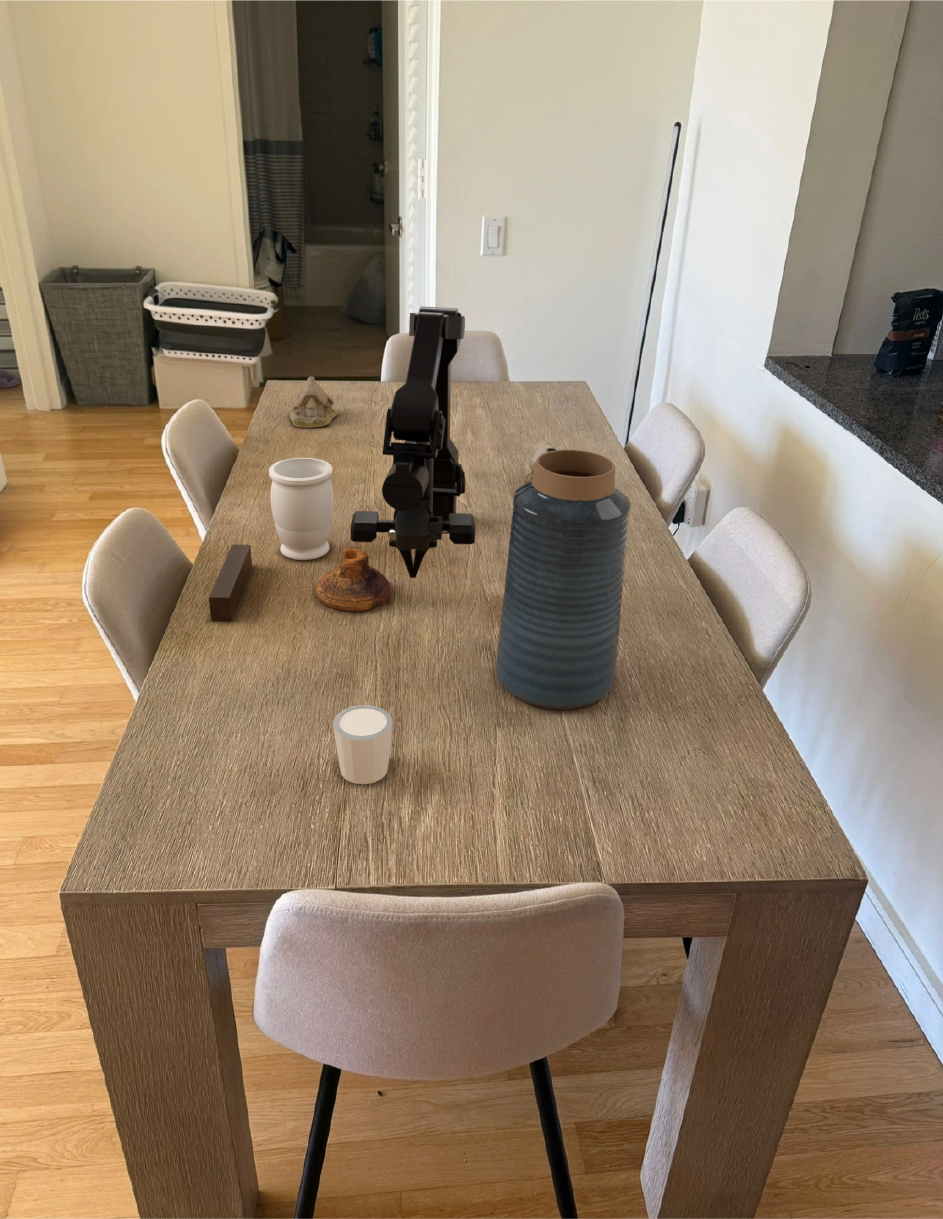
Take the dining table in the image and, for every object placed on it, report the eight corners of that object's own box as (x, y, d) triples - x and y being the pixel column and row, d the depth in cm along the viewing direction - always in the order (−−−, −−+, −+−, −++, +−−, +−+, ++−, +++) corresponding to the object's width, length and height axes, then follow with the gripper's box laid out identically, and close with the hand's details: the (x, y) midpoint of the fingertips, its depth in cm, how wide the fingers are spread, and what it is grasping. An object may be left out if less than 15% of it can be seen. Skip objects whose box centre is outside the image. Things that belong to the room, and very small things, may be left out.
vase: (534, 725, 121) (553, 497, 106) (474, 662, 134) (484, 449, 118) (637, 695, 128) (670, 476, 112) (572, 638, 141) (593, 433, 125)
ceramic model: (290, 409, 229) (288, 368, 224) (337, 409, 230) (336, 368, 225) (287, 428, 217) (285, 385, 212) (336, 428, 218) (335, 386, 213)
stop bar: (252, 566, 157) (250, 544, 155) (231, 621, 141) (229, 597, 139) (234, 566, 157) (232, 544, 155) (211, 620, 141) (208, 597, 139)
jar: (323, 567, 157) (319, 483, 150) (264, 559, 159) (258, 476, 151) (343, 541, 166) (341, 460, 159) (287, 534, 168) (282, 453, 160)
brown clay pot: (380, 617, 144) (379, 574, 140) (305, 607, 146) (302, 564, 142) (400, 582, 154) (400, 542, 150) (329, 573, 156) (328, 533, 152)
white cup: (336, 751, 115) (334, 704, 112) (392, 750, 116) (392, 703, 112) (333, 788, 109) (331, 740, 106) (393, 787, 110) (393, 738, 106)
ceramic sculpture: (574, 435, 193) (583, 465, 181) (570, 473, 198) (579, 506, 185) (522, 434, 193) (528, 464, 180) (519, 473, 198) (525, 505, 185)
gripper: (346, 504, 133) (349, 600, 141) (478, 507, 134) (474, 603, 142) (352, 474, 143) (354, 566, 151) (475, 477, 144) (471, 569, 151)
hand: (413, 577), depth 148 cm, fingers closed
